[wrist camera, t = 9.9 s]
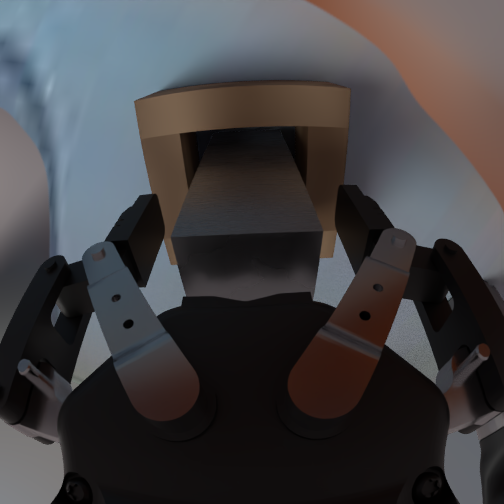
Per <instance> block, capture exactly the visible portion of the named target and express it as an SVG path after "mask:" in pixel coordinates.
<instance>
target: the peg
mask: <svg viewBox="0 0 504 504" xmlns="http://www.w3.org/2000/svg"><path fill="white" fill-rule="evenodd" d="M322 239H323V229H322V226H321V223H320V221H319V218H318V216H317V213H316V211H315V208H314V206H313V203H312V201H311V199H310V196H309V194H308V191H307V189H306V187H305V184H304V182H303V180H302V177H301V175H300V173H299V171H298V168H297V166H296V164H295V161H294V159H293V157H292V155H291V153H290V150H289V148H288V146H287V144H286V142H285V140H284V138H283V135H282V133H281V131H280V129H272V130H241V131H224V132H213V134H212V137H211V139H210V141H209V143H208V145H207V148H206V150H205V152H204V154H203V157H202V159H201V161H200V164H199V166H198V168H197V171H196V173H195V175H194V178H193V180H192V183H191V185H190V188H189V190H188V193H187V195H186V198H185V200H184V203H183V205H182V208H181V210H180V213H179V216H178V218H177V221H176V224H175V226H174V229H173V232H172V235H171V241H172V245H173V249H174V253H175V257H176V261H177V265H178V268H179V272H180V276H181V279H182V283H183V286H184V290H185V293H186V296H217V297H223V298H228V299H234V300H240V301H250V300H254V299H259V298H263V297H267V296H271V295H275V294H279V293H294V292H310V291H311V296H312V300H313V296H314V291H315V285H316V279H317V272H318V266H319V260H320V253H321V246H322Z"/></svg>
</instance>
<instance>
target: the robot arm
mask: <svg viewBox="0 0 504 504" xmlns="http://www.w3.org/2000/svg"><path fill="white" fill-rule="evenodd" d="M335 228H336V230H337V233H338V235H339V237H340V239H341V242H342V244H343V246H344V249H345V251H346V253H347V256H348V258H349V261H350V263H351V265H352V268H353V270H354V273H355V275H356V276H355V277H354V279H353V281H352V283H351V284H350V286H349V288H348V289H347V291H346V293H345V294H344V296H343V298H342V299H341V301H340V303H339V304H338V306H337V308H335V307H333V306H331V305H328V304H325V303H321V302H317V301H313V300H312V296H311V291H310V292H294V293H279V294H275V295H271V296H267V297H263V298H259V299H254V300H250V301H240V300H234V299H228V298H223V297H217V296H186V297H183V300H182V305H181V306H179V307H176V308H173V309H170V310H167V311H165V312H163V313H161V314H160V315H158V316H157V317H156V315H155V313H154V312H153V310H152V309H151V307H150V305H149V304H148V302H147V300H146V299H145V297H144V295H143V294H142V292H141V290H140V289H139V287H146V285H147V282H148V279H149V276H150V274H151V271H152V268H153V265H154V262H155V260H156V257H157V254H158V252H159V249H160V246H161V244H162V241H163V238H164V235H165V224H164V220H163V216H162V211H161V207H160V203H159V199H158V196H157V194H146V195H140V196H139V197H138V198H137V200H136V201H135V203H134V204H133V206H132V207H129V208H128V209H127V210H125V211H124V212H123V213H122V214H121V216H120V217H119V219H118V221H117V222H116V223H115V225H114V227H113V228H112V230H111V231H110V233H109V234H108V236H107V238H106V239H105V241H104V242H99V243H97V244H94V245H93V246H91V247H90V248H88V249H87V250H86V251H85V253H84V254H83V256H82V261H78V262H75V263H72V264H69V265H68V263H67V261H66V259H65V258H64V256H61V255H57V256H53V257H51V258H49V259H48V260H46V261H45V262H44V263H43V264H42V265H41V266H40V268H39V269H38V271H37V273H36V274H35V276H34V278H33V279H32V281H31V283H30V285H29V287H28V288H27V290H26V292H25V294H24V296H23V297H22V299H21V301H20V303H19V305H18V307H17V309H16V311H15V313H14V315H13V317H12V319H11V321H10V323H9V325H8V327H7V329H6V332H5V334H4V336H3V338H2V341H1V343H0V418H1V419H2V420H4V422H5V423H7V424H8V425H10V426H11V427H13V428H15V429H16V430H18V431H19V432H21V433H23V434H25V435H26V436H29V437H32V438H34V439H35V440H37V441H39V442H41V443H43V444H47V445H48V444H52V443H54V442H58V443H60V445H61V450H62V455H63V463H64V480H63V484H62V487H61V489H60V491H59V493H58V494H57V496H56V497H55V499H54V500H53V501H52V503H51V504H460V503H459V502H458V500H457V499H456V497H455V496H454V494H453V492H452V490H451V488H450V486H449V484H448V482H447V480H446V477H445V473H444V454H445V446H446V440H447V435H448V434H451V433H453V432H456V431H459V432H460V433H463V434H469V433H471V432H473V431H475V430H476V431H477V435H478V439H479V440H480V447H481V460H480V475H481V483H482V495H483V504H504V301H503V299H502V297H501V296H500V294H499V293H498V291H497V290H496V288H495V287H494V286H493V287H491V286H490V285H489V283H487V282H485V281H483V279H482V277H481V276H480V274H479V273H478V271H477V270H476V268H475V267H474V265H473V264H472V262H471V261H470V259H469V258H468V256H467V255H466V253H465V252H464V251H463V249H462V248H461V247H460V246H459V245H458V244H456V243H455V242H453V241H451V240H448V239H438V240H436V242H435V244H434V247H433V249H431V248H427V247H422V246H417V245H416V240H415V239H414V237H413V236H412V235H410V234H409V233H407V232H406V231H403V230H401V229H396V228H394V226H393V225H392V223H391V222H390V220H389V219H388V218H387V216H386V215H385V214H384V212H383V211H382V209H380V207H379V205H378V204H377V203H376V201H374V200H373V199H371V198H370V197H368V196H364V195H363V193H362V192H361V191H360V189H359V188H358V187H357V185H339V187H338V193H337V201H336V209H335ZM448 291H450V293H451V295H452V297H453V298H452V299H451V300H450V301H449V302H448V300H447V298H446V295H447V293H448ZM402 298H404V299H410V300H413V302H414V304H415V306H416V309H417V311H418V314H419V316H420V319H421V321H422V324H423V326H424V329H425V332H426V334H427V337H428V340H429V343H430V346H431V348H432V351H433V354H434V357H435V360H436V363H437V366H438V370H439V372H438V374H437V376H436V384H435V383H433V382H432V381H431V380H430V379H428V378H427V377H426V376H425V375H423V374H422V373H421V372H420V371H418V370H417V369H416V368H414V367H413V366H412V365H411V364H409V363H408V362H407V361H406V360H404V359H403V358H402V357H400V356H399V355H398V354H397V353H395V352H394V351H393V350H392V349H390V348H389V347H388V346H386V345H385V342H386V340H387V337H388V335H389V332H390V330H391V327H392V324H393V322H394V319H395V316H396V314H397V311H398V308H399V305H400V302H401V300H402ZM55 304H57V306H58V307H59V309H60V310H61V312H60V314H59V317H58V319H57V322H56V324H55V326H54V327H53V325H52V322H51V313H52V310H53V308H54V306H55ZM92 312H95V313H96V316H97V319H98V321H99V324H100V327H101V330H102V332H103V335H104V337H105V340H106V342H107V345H108V347H109V350H110V352H111V354H112V356H111V357H110V358H108V359H107V360H106V361H105V362H104V363H103V364H102V365H101V366H100V367H98V368H97V369H96V370H95V371H94V372H93V373H92V374H91V375H90V376H89V377H87V378H86V379H85V380H84V381H83V382H82V383H81V384H80V385H79V386H78V387H76V388H75V389H74V390H73V391H72V388H71V385H70V384H71V380H72V376H73V372H74V368H75V365H76V361H77V358H78V355H79V351H80V348H81V345H82V341H83V338H84V335H85V332H86V329H87V326H88V323H89V320H90V318H91V315H92Z"/></svg>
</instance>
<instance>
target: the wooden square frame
mask: <svg viewBox="0 0 504 504" xmlns="http://www.w3.org/2000/svg"><path fill="white" fill-rule="evenodd" d="M350 94H351V89H350V88H347V87H343V86H340V85H337V84H333V83H330V82H320V81H299V80H260V81H238V82H225V83H214V84H204V85H196V86H189V87H182V88H175V89H169V90H163V91H158V92H156V93H153V94H150V95H148V96H145V97H143V98H140V99H138V100H136V101H134V103H135V110H136V116H137V122H138V127H139V133H140V138H141V144H142V149H143V154H144V159H145V164H146V168H147V173H148V178H149V182H150V186H151V191H152V194H157V196H158V199H159V203H160V207H161V211H162V216H163V220H164V224H165V235H164V242H165V245H166V249H167V252H168V256H169V259H170V263H171V265H177V261H176V257H175V253H174V249H173V245H172V241H171V235H172V232H173V229H174V226H175V224H176V221H177V218H178V216H179V213H180V210H181V208H182V205H183V203H184V200H185V198H186V195H187V193H188V190H189V188H190V185H191V183H192V180H193V178H194V175H195V173H196V171H197V168H198V166H199V164H200V161H199V154H198V146H197V138H196V131H204V130H215V129H227V128H242V127H266V126H295V155H294V161H295V164H296V166H297V168H298V171H299V173H300V175H301V177H302V180H303V182H304V184H305V187H306V189H307V191H308V194H309V196H310V199H311V201H312V203H313V206H314V208H315V211H316V213H317V216H318V218H319V221H320V223H321V226H322V229H323V239H322V246H321V253H320V258H332V257H333V253H334V247H335V241H336V235H337V230H336V228H335V209H336V201H337V193H338V187H339V185H343V183H344V174H345V165H346V154H347V143H348V130H349V115H350Z"/></svg>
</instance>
